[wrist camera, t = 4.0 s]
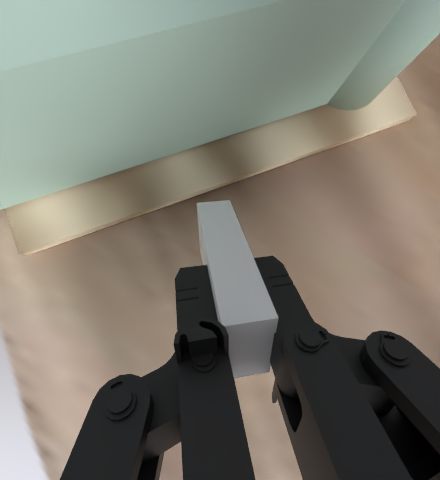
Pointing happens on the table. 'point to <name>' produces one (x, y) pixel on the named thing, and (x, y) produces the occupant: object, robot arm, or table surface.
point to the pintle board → (197, 170)
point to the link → (180, 75)
